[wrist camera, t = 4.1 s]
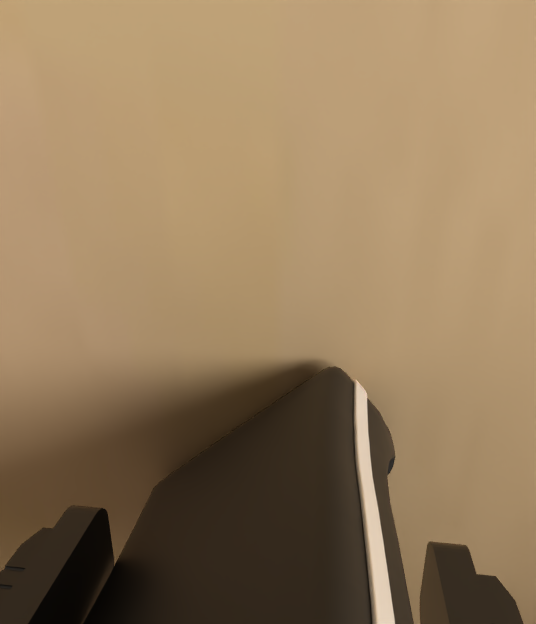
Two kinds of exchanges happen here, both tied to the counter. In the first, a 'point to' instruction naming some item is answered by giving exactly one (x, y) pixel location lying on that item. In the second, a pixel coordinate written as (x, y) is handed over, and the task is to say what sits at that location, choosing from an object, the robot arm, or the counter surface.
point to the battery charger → (272, 524)
